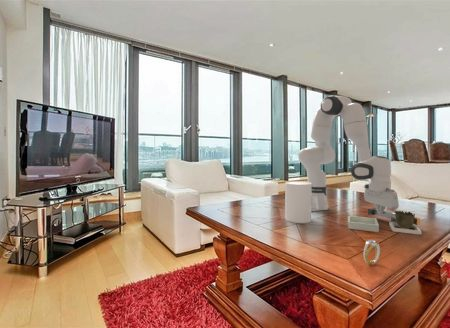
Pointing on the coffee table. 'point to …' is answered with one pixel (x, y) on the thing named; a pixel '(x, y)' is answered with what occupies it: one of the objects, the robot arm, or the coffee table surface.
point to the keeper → (416, 231)
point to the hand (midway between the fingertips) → (380, 213)
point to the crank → (390, 215)
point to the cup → (404, 219)
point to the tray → (363, 223)
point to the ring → (366, 252)
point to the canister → (298, 201)
